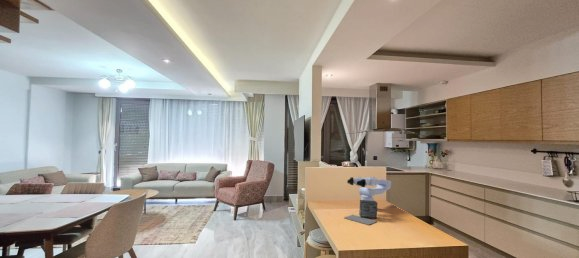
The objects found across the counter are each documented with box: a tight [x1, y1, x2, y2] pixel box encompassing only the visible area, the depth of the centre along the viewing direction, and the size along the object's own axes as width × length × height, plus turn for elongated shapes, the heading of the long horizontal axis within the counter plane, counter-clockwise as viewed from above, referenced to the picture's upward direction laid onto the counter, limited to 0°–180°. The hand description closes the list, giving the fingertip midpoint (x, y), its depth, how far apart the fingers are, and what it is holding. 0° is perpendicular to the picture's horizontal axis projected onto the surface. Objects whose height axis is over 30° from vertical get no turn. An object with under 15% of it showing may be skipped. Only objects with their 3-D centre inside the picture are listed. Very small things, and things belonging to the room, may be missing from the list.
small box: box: [358, 199, 378, 220], centre depth 170 cm, size 11×6×10 cm, turn 85°
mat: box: [343, 214, 378, 226], centre depth 163 cm, size 10×18×1 cm, turn 43°
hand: (352, 182), depth 179 cm, fingers open, 7 cm apart
